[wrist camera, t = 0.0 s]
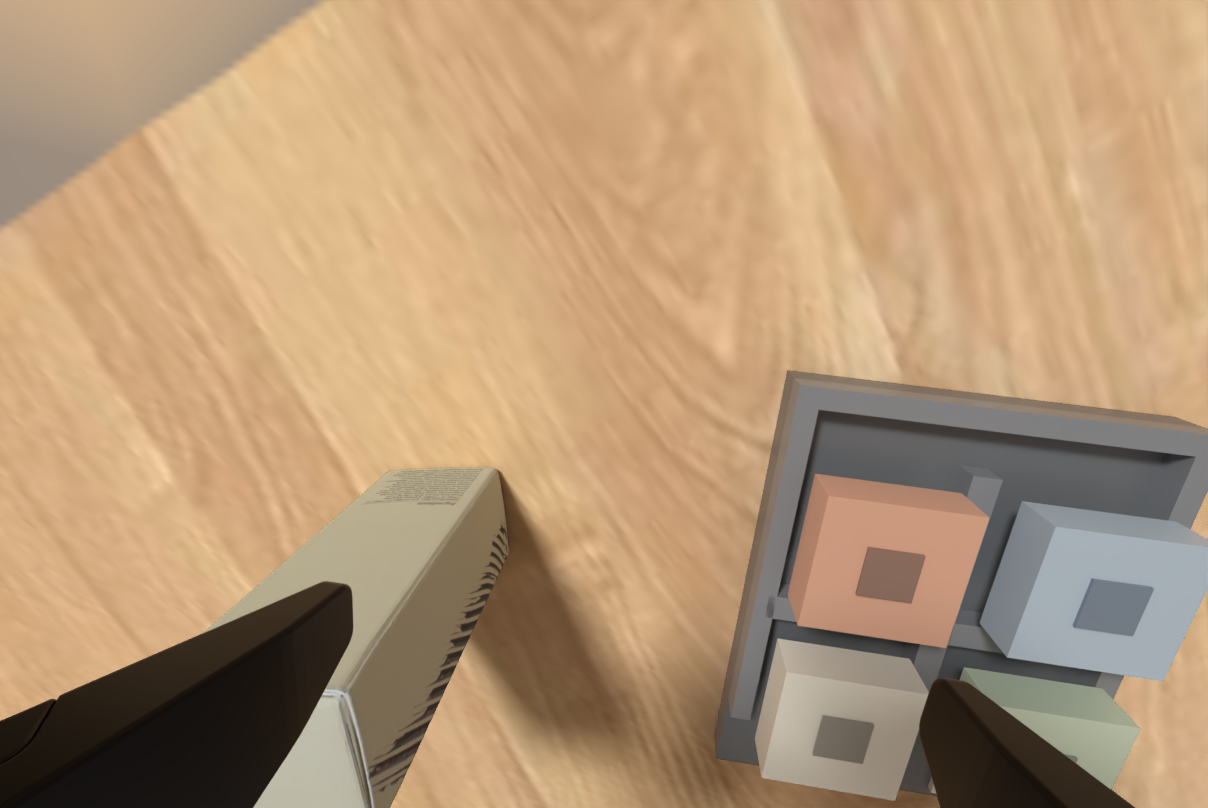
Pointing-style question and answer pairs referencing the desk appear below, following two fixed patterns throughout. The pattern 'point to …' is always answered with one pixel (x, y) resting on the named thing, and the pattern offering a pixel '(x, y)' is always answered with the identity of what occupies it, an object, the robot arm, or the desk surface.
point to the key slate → (1096, 590)
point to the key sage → (1065, 718)
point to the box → (388, 626)
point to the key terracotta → (884, 559)
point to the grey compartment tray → (956, 464)
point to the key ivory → (839, 719)
